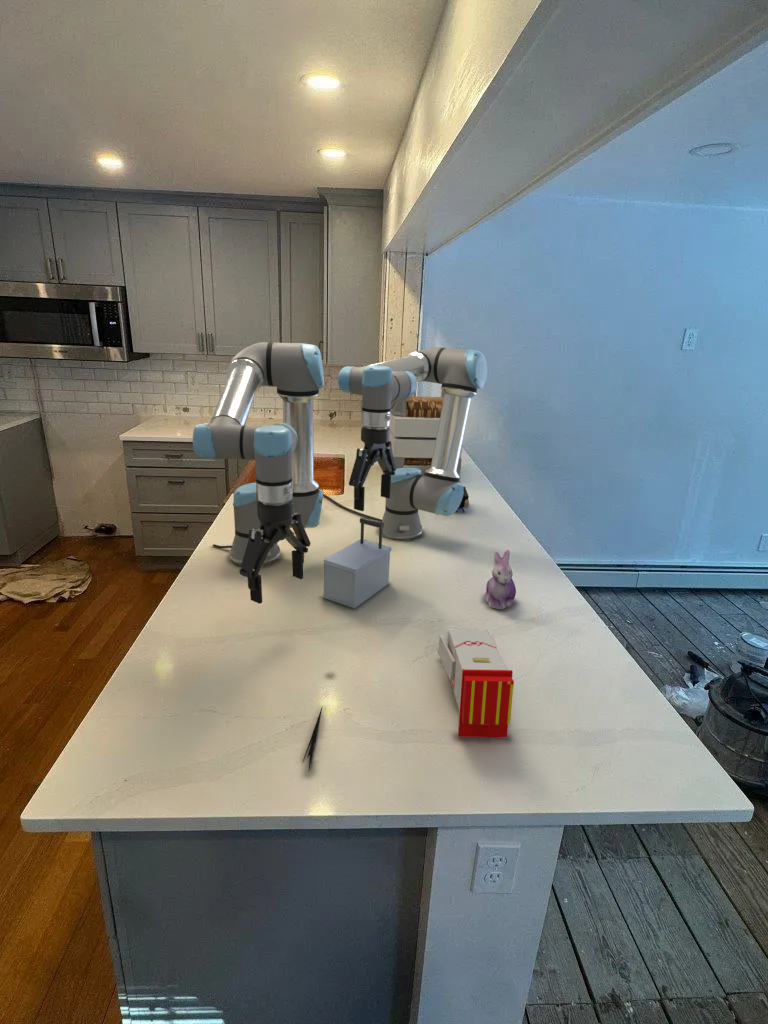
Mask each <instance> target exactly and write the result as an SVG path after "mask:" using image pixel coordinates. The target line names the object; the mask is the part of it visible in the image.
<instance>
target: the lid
mask: <svg viewBox="0 0 768 1024" xmlns="http://www.w3.org/2000/svg"><path fill="white" fill-rule="evenodd" d="M359 523H360V538H359V539H358V540H356V541H354V542H353V543H351V544H349V545H346V546H345V547H343V548H342V549H340V550H339V551H337V552H334V553H333V554H331V555H330V556H328V557H326V558H324V559H323V565H324V564H326V565H329V566H332V567H336V568H339V569H342V570H345V571H348V572H351V573H355V574H356V573H358V572H359V571H361V570H362V569H364V568H365V567H367V566H368V565H370V564H372V563H373V562H375V561H376V560H378V559H379V558H381V557H383V556H384V555H386V554H387V553H389V552H390V553H391V552H392V546H389V545H385V544H383V535H382V532H383V527H384V523H383V522H380V521H376V520H373V519H370V518H367V517H364V516H360V518H359ZM365 525H367V526H370V527H374V528H378V542H376V541H375V542H374V541H371V540H367V539H365Z"/></svg>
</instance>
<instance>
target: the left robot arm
mask: <svg viewBox="0 0 768 1024" xmlns="http://www.w3.org/2000/svg"><path fill="white" fill-rule="evenodd" d="M225 377H226V382H225V384H224V387H223V389H222V391H221V394H220V397H219V399H218V401H217V404H216V407H215V410H214V412H213V414H212V416H211V419H210V422H209V423H207V422H206V423H198V424H196V425H195V427H194V428H193V432H192V447H193V451H194V454H195V455H196V456H197V457H199V458H202V459H212V460H246V461H247V460H248V461H249V460H251V461H254V462H255V463H254V465H255V482H250V483H246V484H243V485H240V486H239V487H237V488H236V489H235V490H234V492H233V502H232V506H233V519H234V520H233V521H234V537H233V540H232V544H231V545H219V544H215V543H214V544H212V547H213V548H217V549H230V551H229V560H230V561H231V562H232V563H233V564H235V565H238V566H240V568H239V571H238V575H240V576H242V577H245V578H247V588H248V589H249V593H250V594H249V595H250V601H252V602H255V603H257V604H262V603H263V588H262V586H263V585H262V575H261V574H260V571H261V569H262V567H265V566H268V565H269V566H270V565H272V564H274V563H276V562H277V561H279V559H280V558H281V548H280V546H279V545H278V543H279V542H280V541H284V540H285V541H286V542H288V544H289V545H291V547H292V548H293V549H294V550H292V551H291V571H292V572H291V575H292V577H293V578H296V579H298V580H303V579H304V563H305V554H307V553H308V551H309V547H310V546H311V545H312V543H311V541H310V539H309V536H308V534H307V531H306V529H313V528H314V529H315V528H317V527H318V526H319V524H320V521H321V513H322V506H323V501H324V500H323V499H324V496H323V494H324V490H322V489H320V484H319V483H318V482H317V480H315V477H314V476H315V470H314V469H315V464H314V462H315V461H314V459H315V454H314V453H315V452H314V450H315V448H314V447H315V445H314V441H315V440H314V436H315V435H314V400H315V399H316V398H317V397H318V396H319V395H320V390H321V389H323V388H324V387H325V377H324V366H323V359H322V353H321V350H320V348H319V346H317V345H316V344H311V343H303V342H269V341H262V342H256V343H254V344H251V345H248V346H247V347H245V348H243V349H242V350H240V351H239V352H238V353H236V354H235V356H233V357H232V359H231V360H230V361H229V363H228V365H227V368H226V371H225ZM261 387H276V395H278V396H279V398H281V400H282V422H276V423H273V424H270V425H246V424H247V420H248V416H249V414H250V411H251V408H252V405H253V401H254V398H255V395H256V392H257V391H258V390H259V389H261ZM291 528H292V529H291Z"/></svg>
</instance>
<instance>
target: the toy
mask: <svg viewBox="0 0 768 1024" xmlns="http://www.w3.org/2000/svg"><path fill="white" fill-rule="evenodd" d="M446 640H447V643H446V641H445V639H444V636H443V635H442V634H439V637H438V646H437V656H438V657H439V659H440V661H441V663H442V666H443V668H444V670H445V672H446V674H447V677H448V679H449V681H450V684H451V687H452V690H453V693H454V697H455V701H456V705H457V708H458V711H459V714H458V715H459V716H458V730H457V731H458V732H457V737H458V738H508V731H509V726H510V725H511V717H512V707H513V697H514V696H513V695H514V684H515V680H514V679H513V673H514V671H513V670H512V669H508V667H507V665H506V662H505V661H504V659H503V658H502V655H501V653H500V651H499V649H498V647H497V643H496V639H495V637H494V635H493V634H491V632H490V631H489V629H467V628H466V629H465V628H463V629H461V628H460V629H459V628H448V630H447V639H446Z"/></svg>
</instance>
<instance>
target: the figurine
mask: <svg viewBox="0 0 768 1024" xmlns="http://www.w3.org/2000/svg"><path fill="white" fill-rule="evenodd" d="M510 555H511V551H510V550H509V549H506V550H505V552H504V553H503V555H502V557H501V555H500V553H499V552H498V551H497V550H494V551H493V558H494V559H493V562H494V565H493V568H492V570H491V575H492V577H490V578H489V579H488V580H487V583H486V586H485V589H486V590H485V594H484V596H485V597H484V599H485V602H486V603H487V604H488V607H490V608H492V609H498V610H504V609H505V608H510V607H511V606H512V605H513V603H514V602H515V597H516V596H517V595H516V594H517V588H516V584H515V581H514V580H513V576H514V575H513V574H514V573H513V570H512V567H511V565H510Z"/></svg>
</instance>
